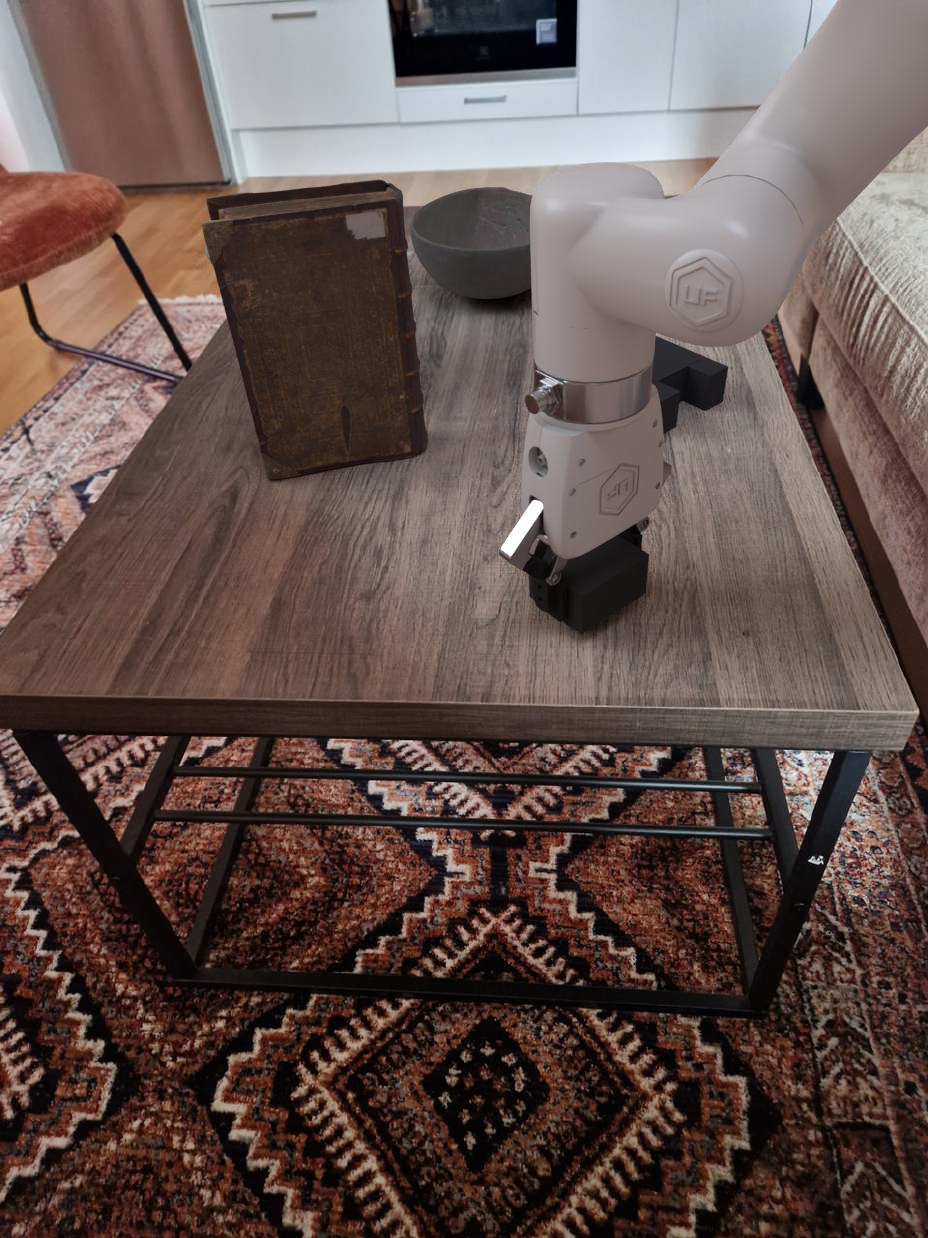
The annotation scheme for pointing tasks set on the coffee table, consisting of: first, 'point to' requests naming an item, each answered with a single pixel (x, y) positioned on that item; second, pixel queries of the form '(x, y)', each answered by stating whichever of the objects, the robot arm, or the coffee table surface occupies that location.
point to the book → (321, 322)
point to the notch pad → (685, 380)
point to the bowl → (476, 242)
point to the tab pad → (602, 582)
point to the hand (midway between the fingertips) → (587, 587)
